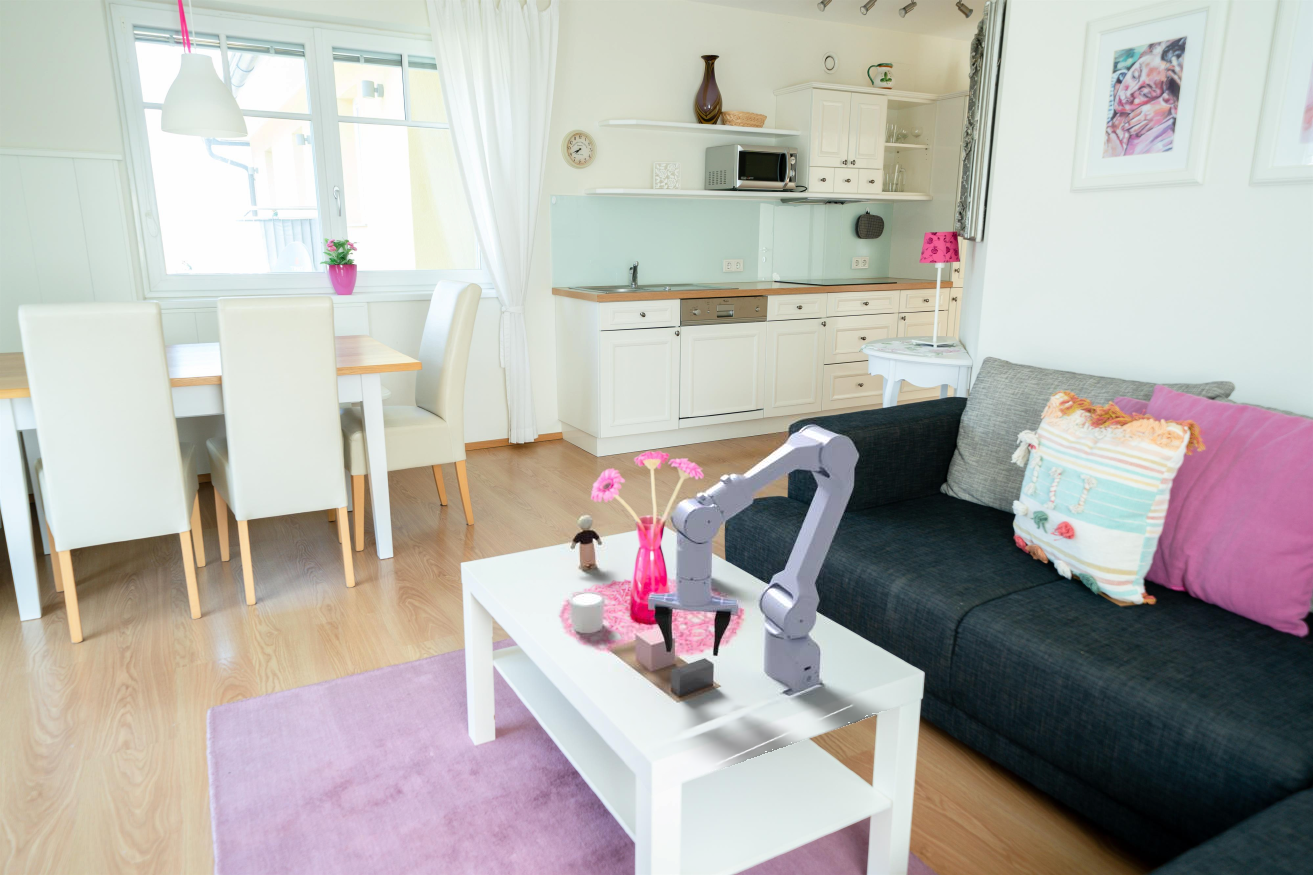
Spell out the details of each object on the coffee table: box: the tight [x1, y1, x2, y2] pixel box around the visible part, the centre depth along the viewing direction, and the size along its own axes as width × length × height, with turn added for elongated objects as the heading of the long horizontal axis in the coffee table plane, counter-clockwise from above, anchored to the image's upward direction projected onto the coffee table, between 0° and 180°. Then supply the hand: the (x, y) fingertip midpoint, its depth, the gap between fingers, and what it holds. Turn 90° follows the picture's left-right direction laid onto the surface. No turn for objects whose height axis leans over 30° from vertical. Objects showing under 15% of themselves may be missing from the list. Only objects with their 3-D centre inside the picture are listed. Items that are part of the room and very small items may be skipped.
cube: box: [635, 626, 676, 672], centre depth 145 cm, size 5×5×5 cm
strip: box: [607, 639, 721, 703], centre depth 144 cm, size 22×9×5 cm, turn 34°
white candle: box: [568, 591, 606, 634], centre depth 159 cm, size 7×7×7 cm
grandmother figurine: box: [570, 514, 603, 571], centre depth 190 cm, size 8×4×13 cm, turn 130°
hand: (692, 651), depth 135 cm, fingers open, 7 cm apart
